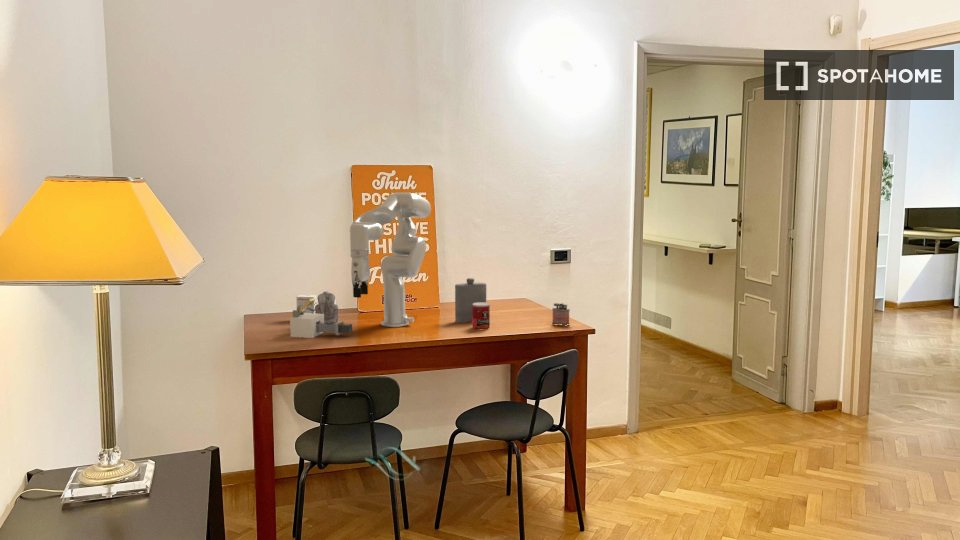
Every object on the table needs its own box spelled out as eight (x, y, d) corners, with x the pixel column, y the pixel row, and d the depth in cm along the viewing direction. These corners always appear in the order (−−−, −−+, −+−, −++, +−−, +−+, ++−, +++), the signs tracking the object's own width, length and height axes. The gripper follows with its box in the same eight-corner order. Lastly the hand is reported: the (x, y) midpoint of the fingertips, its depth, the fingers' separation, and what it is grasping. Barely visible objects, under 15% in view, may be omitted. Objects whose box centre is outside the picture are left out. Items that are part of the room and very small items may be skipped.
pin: (353, 332, 319) (353, 321, 318) (348, 335, 313) (347, 324, 312) (312, 330, 323) (312, 319, 322) (306, 333, 317) (306, 322, 316)
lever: (315, 300, 319) (313, 297, 320) (311, 301, 315) (309, 299, 315) (300, 314, 322) (298, 311, 322) (296, 316, 318) (293, 313, 318)
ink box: (296, 321, 347) (295, 296, 345) (300, 319, 352) (299, 294, 350) (314, 321, 346) (313, 296, 344) (317, 319, 351) (317, 295, 349)
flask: (483, 318, 353) (483, 276, 350) (487, 321, 347) (487, 278, 345) (453, 320, 348) (453, 278, 345) (457, 323, 342) (456, 280, 340)
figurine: (338, 322, 344) (337, 290, 342) (339, 328, 333) (338, 294, 331) (315, 323, 342) (314, 291, 340) (315, 329, 331) (314, 295, 329)
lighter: (570, 325, 339) (570, 303, 337) (568, 326, 336) (568, 304, 334) (553, 323, 342) (553, 302, 341) (551, 324, 339) (551, 303, 338)
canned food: (477, 330, 327) (477, 306, 326) (469, 327, 334) (469, 303, 333) (492, 328, 331) (492, 304, 329) (484, 325, 338) (484, 301, 336)
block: (324, 331, 325) (323, 307, 323) (312, 338, 313) (311, 312, 312) (303, 330, 327) (302, 306, 325) (290, 336, 315) (289, 311, 314)
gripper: (360, 256, 301) (361, 299, 303) (375, 251, 318) (376, 292, 320) (343, 255, 302) (344, 299, 305) (359, 251, 319) (359, 292, 322)
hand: (360, 295), depth 312 cm, fingers open, 7 cm apart
